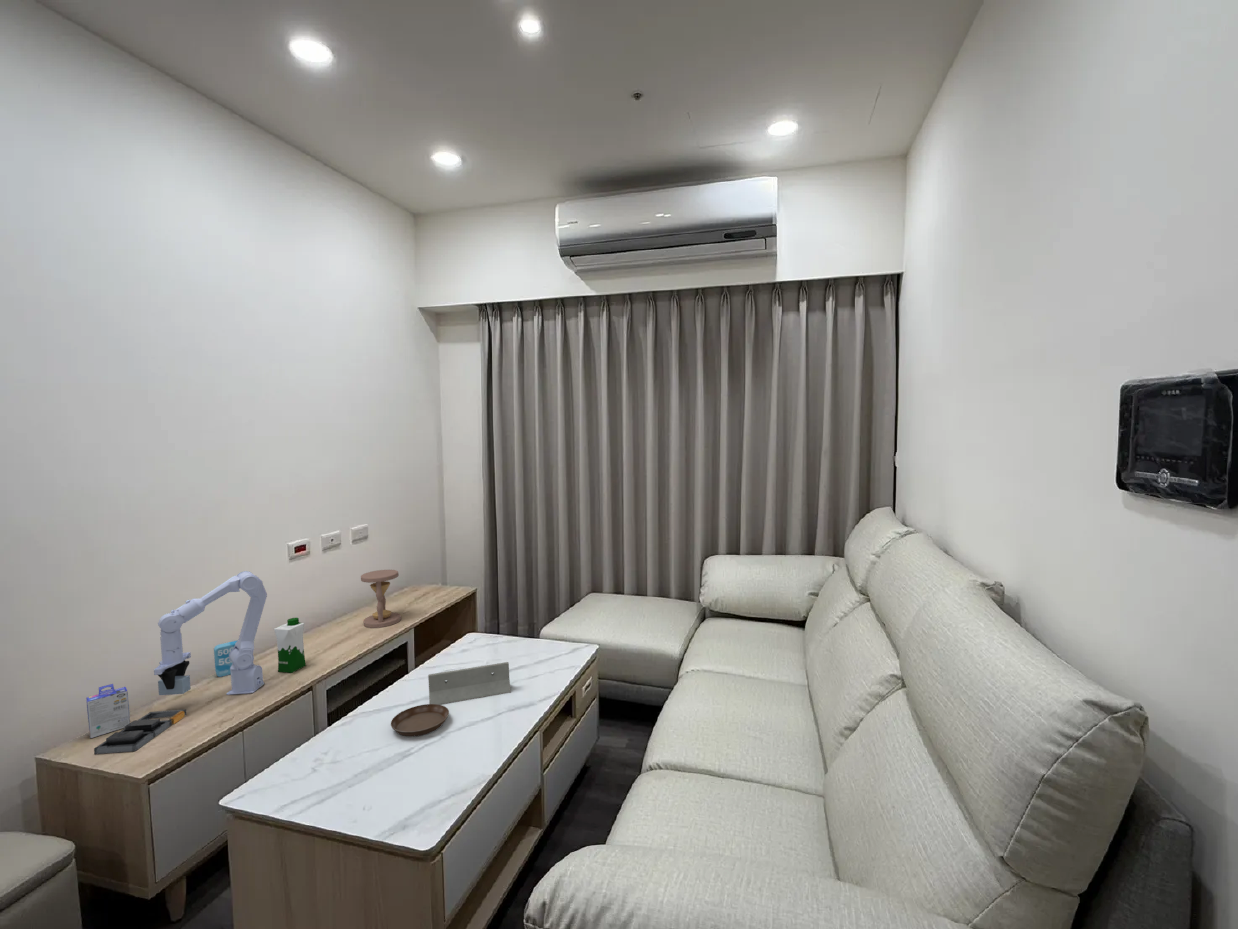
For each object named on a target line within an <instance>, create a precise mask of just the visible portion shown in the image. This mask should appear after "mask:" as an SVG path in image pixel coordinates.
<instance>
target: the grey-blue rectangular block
mask: <svg viewBox="0 0 1238 929" xmlns="http://www.w3.org/2000/svg"><path fill="white" fill-rule="evenodd" d="M157 686H158V687H157V688H158V696H169V695H170V696H172V695H185V693H187V692H188V691H190V690H192V689H191V678H190V675H189V674H188V675H184V676H175V686H174V689H168V690H167V689H166V687H165V685H164V683H163V681H162V679H161V678H160V679H159V680H157Z"/></svg>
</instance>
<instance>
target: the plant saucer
mask: <svg viewBox="0 0 1238 929" xmlns="http://www.w3.org/2000/svg"><path fill="white" fill-rule="evenodd" d="M449 710H450V709H449V708H448V707H446V706H445V705H438V704H429V703H428V704H426V703H425V704H420V705H416V706H412V707H409V708H406V709H404V710H401V712H398V713H397V714H396V715H395V716H394V717H393V718H392V719H391V721H390V726H391V728H392V730H394V732H396V733H397V734H398V735H400V736H401V737H406V738H407V737H408V738H414V737H415V738H416V737H421V736H425V735H429V734H431V733H434V732H435V731H436V730H439V728H441V727H442V726H443V724H444V723H445V722H446V721H447V719H448V716H449V714H450V711H449Z"/></svg>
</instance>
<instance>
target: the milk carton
mask: <svg viewBox="0 0 1238 929" xmlns="http://www.w3.org/2000/svg"><path fill="white" fill-rule="evenodd" d="M304 628H305V622H300V621H299V617H292V618H291V617H290V618H288V619H287V623H285V624H284V623H283V624H281V625H280V626H278V627H274V628H273V631H274V635H275V638H276V644H277V646H276V647H277V659H278V661H277V664H278V665H277V673H289V674H293V673H295V672H297V671H298V670H300V669H302V668H304V667H307V664H306V657H305V649H304V648H305V646H304V645H305V644H304V643H305V642H304Z"/></svg>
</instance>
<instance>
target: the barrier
mask: <svg viewBox="0 0 1238 929" xmlns="http://www.w3.org/2000/svg"><path fill="white" fill-rule="evenodd" d="M509 664H510V663H509V662H508V661H506V662H500V663H493V664H492V663H491V664H486V665H481V666H473V667H468V668H462V669H461V668H460V669H454V670H447V671H441V672H436V673H430V674H428V676H427V678H428V697H429V698H428V700H429V702H428V704H438V705H442V706H444V705H449V704H452V703H458V702H459V703H460V702H464V701H465V702H466V701H471V700H475V699H482V698H488V697H492V696H493V697H494V696H499V695H503V694H504V695H505V694H510V693H512V692H511V681H510V667H509V666H510V665H509Z"/></svg>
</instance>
